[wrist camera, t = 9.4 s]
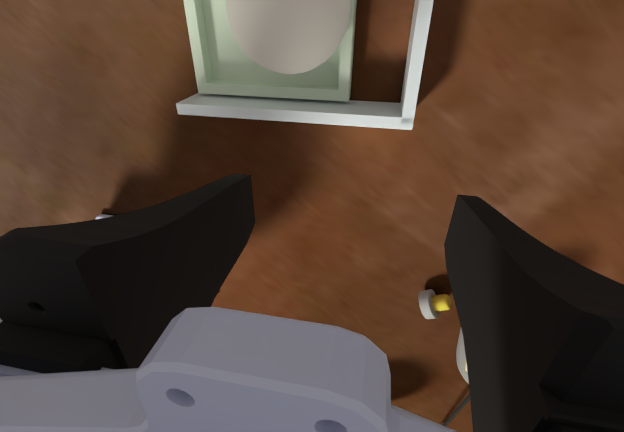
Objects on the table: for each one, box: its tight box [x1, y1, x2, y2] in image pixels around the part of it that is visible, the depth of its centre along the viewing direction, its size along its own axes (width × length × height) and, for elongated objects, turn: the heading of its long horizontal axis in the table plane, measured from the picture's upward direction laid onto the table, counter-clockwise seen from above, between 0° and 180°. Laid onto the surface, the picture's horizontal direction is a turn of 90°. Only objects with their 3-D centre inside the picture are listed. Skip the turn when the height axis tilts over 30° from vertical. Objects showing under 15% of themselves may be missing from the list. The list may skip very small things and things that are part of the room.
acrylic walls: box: [176, 0, 434, 130], centre depth 18 cm, size 13×9×3 cm
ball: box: [226, 0, 350, 74], centre depth 16 cm, size 6×6×6 cm
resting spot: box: [184, 0, 357, 102], centre depth 18 cm, size 9×9×1 cm
